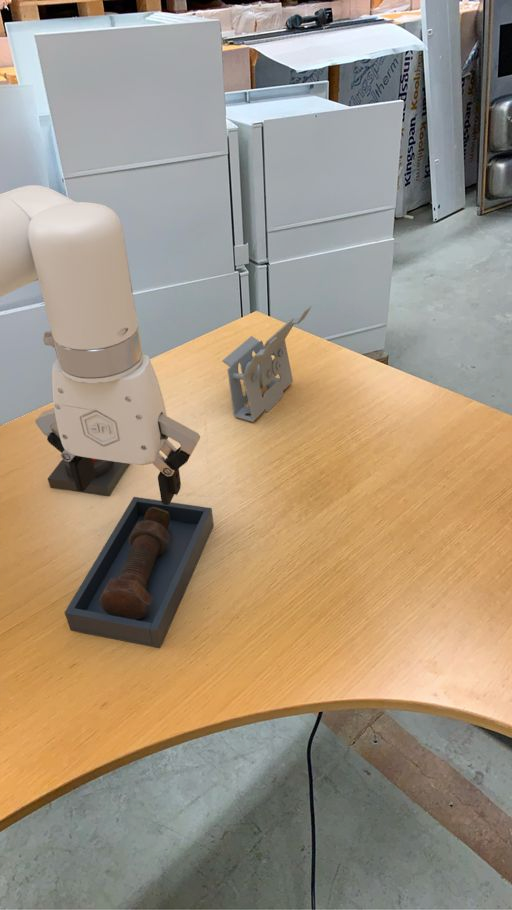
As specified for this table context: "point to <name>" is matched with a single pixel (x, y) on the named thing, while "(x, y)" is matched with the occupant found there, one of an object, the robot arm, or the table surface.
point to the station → (100, 484)
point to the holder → (164, 581)
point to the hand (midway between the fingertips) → (128, 489)
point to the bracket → (260, 372)
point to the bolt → (137, 567)
